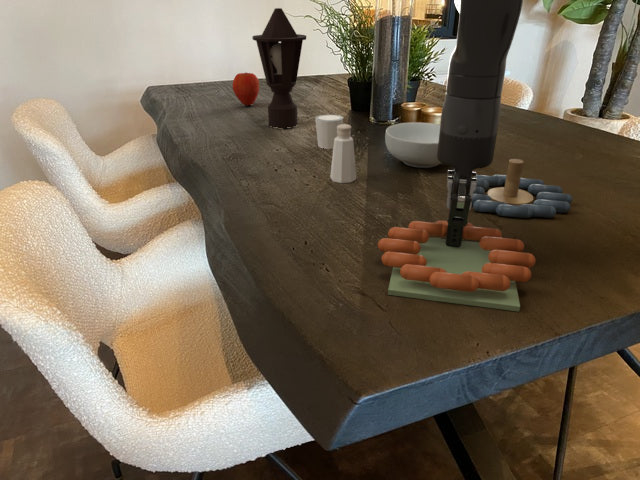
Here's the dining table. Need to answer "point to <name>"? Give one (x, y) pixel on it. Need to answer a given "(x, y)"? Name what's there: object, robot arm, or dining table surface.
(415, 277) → the top ring
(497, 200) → the ring stand
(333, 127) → the white sugar pot
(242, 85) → the apple
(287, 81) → the lantern
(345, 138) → the pepper shaker
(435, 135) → the cereal bowl
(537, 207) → the bottom ring
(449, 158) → the robot arm
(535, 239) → the dining table surface
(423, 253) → the mat
